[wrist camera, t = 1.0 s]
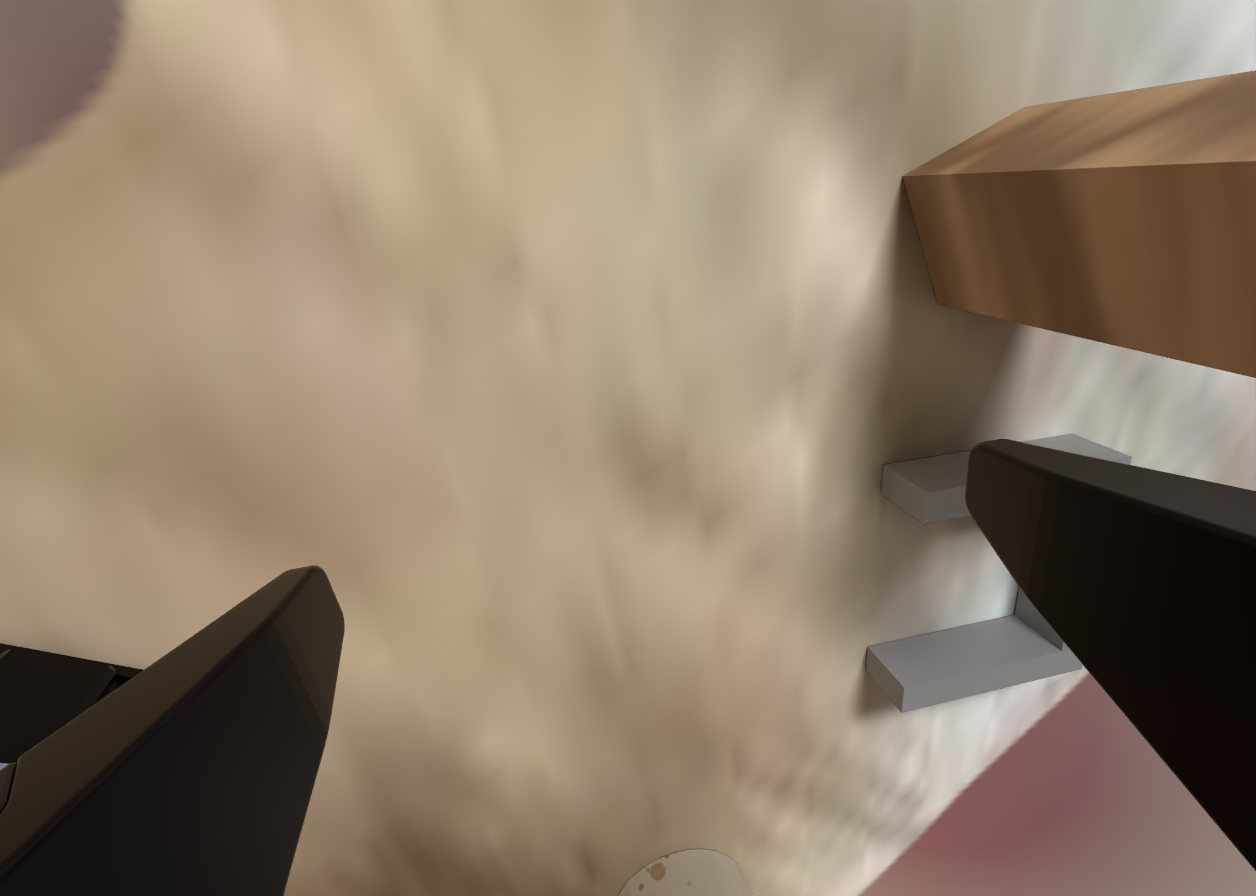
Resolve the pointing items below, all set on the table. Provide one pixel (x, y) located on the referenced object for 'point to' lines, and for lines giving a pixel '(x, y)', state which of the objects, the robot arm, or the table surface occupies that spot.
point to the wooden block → (1106, 220)
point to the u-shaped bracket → (975, 650)
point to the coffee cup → (689, 876)
